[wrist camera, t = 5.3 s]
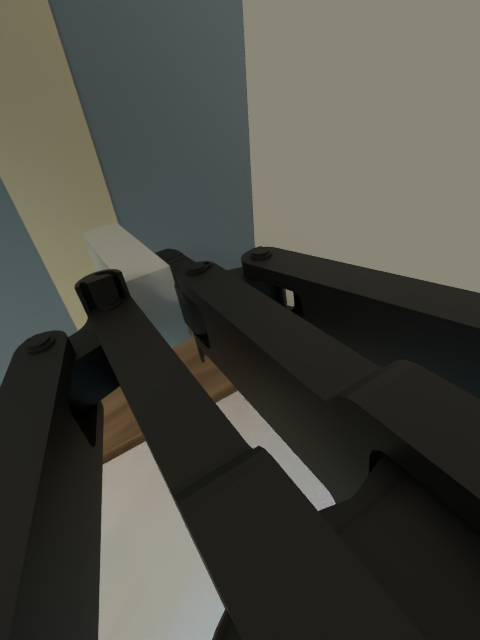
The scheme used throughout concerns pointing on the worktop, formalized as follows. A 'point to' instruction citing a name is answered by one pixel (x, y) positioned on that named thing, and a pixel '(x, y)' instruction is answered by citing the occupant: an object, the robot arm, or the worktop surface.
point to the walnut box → (118, 415)
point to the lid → (116, 144)
